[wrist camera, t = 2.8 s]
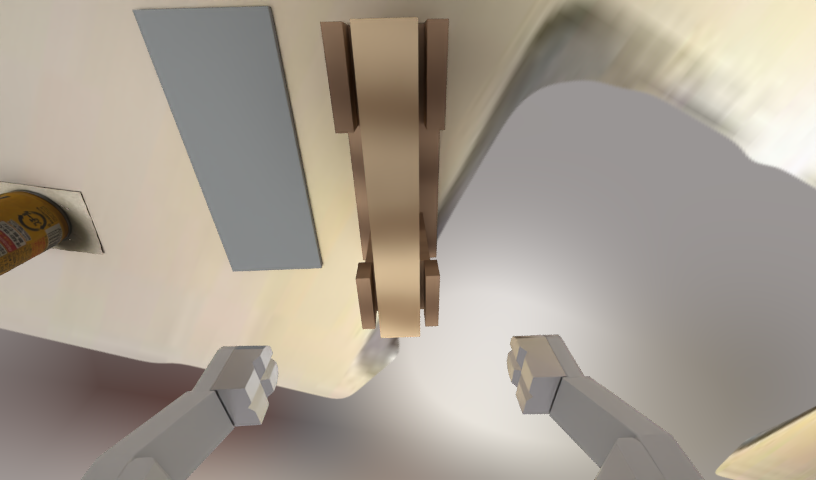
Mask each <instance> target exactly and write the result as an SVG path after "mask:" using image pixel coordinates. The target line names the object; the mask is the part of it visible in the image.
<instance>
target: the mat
mask: <svg viewBox="0 0 816 480" xmlns="http://www.w3.org/2000/svg"><path fill="white" fill-rule="evenodd" d="M133 13H134V15H135V18H136V21H137V23H138V26H139V28H140V31H141V34H142V36H143V39H144V41H145V44H146V47H147V49H148V52H149V54H150V57H151V60H152V62H153V65H154V67H155V70H156V72H157V75H158V78H159V80H160V83H161V85H162V88H163V91H164V93H165V96H166V98H167V101H168V104H169V106H170V109H171V111H172V114H173V117H174V119H175V122H176V124H177V127H178V130H179V132H180V135H181V137H182V140H183V143H184V145H185V148H186V150H187V153H188V156H189V158H190V161H191V163H192V166H193V169H194V171H195V174H196V176H197V179H198V182H199V184H200V187H201V189H202V192H203V195H204V197H205V200H206V202H207V205H208V208H209V210H210V213H211V215H212V218H213V221H214V223H215V226H216V228H217V231H218V234H219V236H220V239H221V241H222V244H223V247H224V249H225V252H226V254H227V257H228V260H229V262H230V265H231V267H232V270H233V271H257V270H284V269H311V268H322V260H321V255H320V250H319V245H318V241H317V236H316V231H315V226H314V221H313V216H312V211H311V206H310V201H309V196H308V191H307V186H306V181H305V176H304V171H303V166H302V161H301V156H300V151H299V146H298V141H297V136H296V131H295V126H294V121H293V116H292V111H291V106H290V101H289V96H288V91H287V86H286V81H285V76H284V71H283V66H282V62H281V57H280V52H279V47H278V42H277V37H276V32H275V27H274V22H273V17H272V12H271V7H268V6H259V7H221V8H183V9H144V10H133Z"/></svg>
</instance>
